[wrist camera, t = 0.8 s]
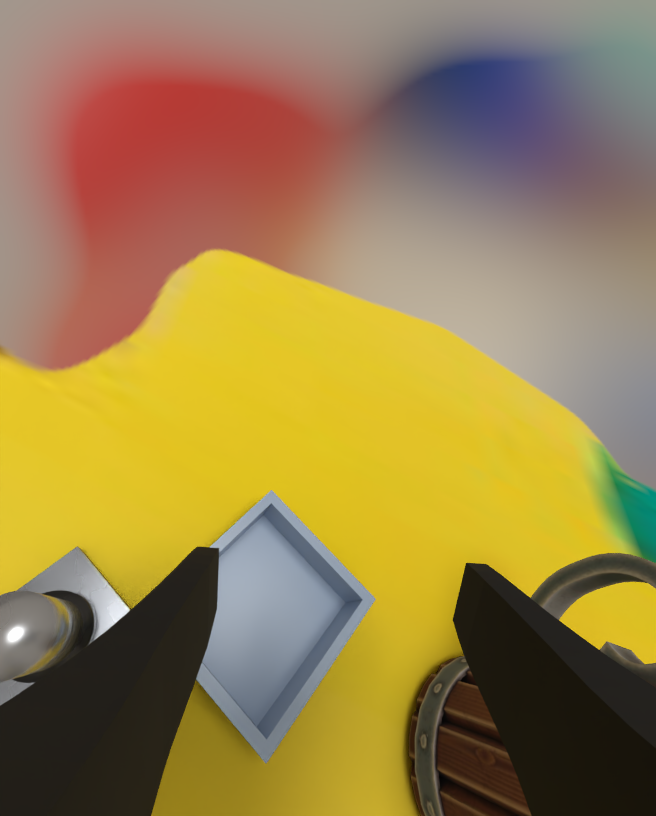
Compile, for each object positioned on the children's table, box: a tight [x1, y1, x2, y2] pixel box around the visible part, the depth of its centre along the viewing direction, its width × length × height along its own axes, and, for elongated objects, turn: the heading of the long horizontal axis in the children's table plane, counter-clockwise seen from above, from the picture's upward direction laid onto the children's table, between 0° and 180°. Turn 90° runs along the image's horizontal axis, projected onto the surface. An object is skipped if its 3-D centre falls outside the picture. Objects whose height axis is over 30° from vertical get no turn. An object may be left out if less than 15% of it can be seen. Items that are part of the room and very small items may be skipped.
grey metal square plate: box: [0, 546, 131, 705], centre depth 19 cm, size 6×6×1 cm
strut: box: [0, 590, 97, 683], centre depth 16 cm, size 4×4×6 cm
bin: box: [196, 490, 375, 763], centre depth 21 cm, size 9×9×4 cm
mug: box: [409, 553, 656, 816], centre depth 18 cm, size 16×11×15 cm
